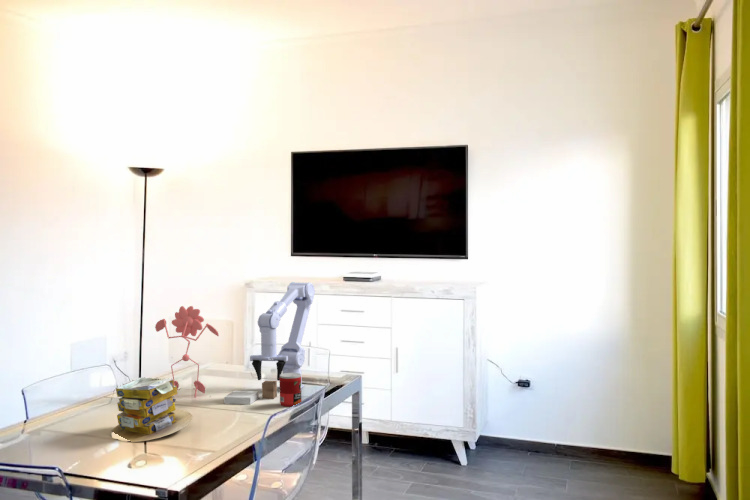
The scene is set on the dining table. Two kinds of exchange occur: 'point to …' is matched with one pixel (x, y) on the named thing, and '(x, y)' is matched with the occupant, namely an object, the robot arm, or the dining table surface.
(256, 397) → the grey plinth
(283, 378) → the canned food
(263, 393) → the walnut block
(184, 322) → the figurine
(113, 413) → the dining table surface
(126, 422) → the stacked yellow food packages
